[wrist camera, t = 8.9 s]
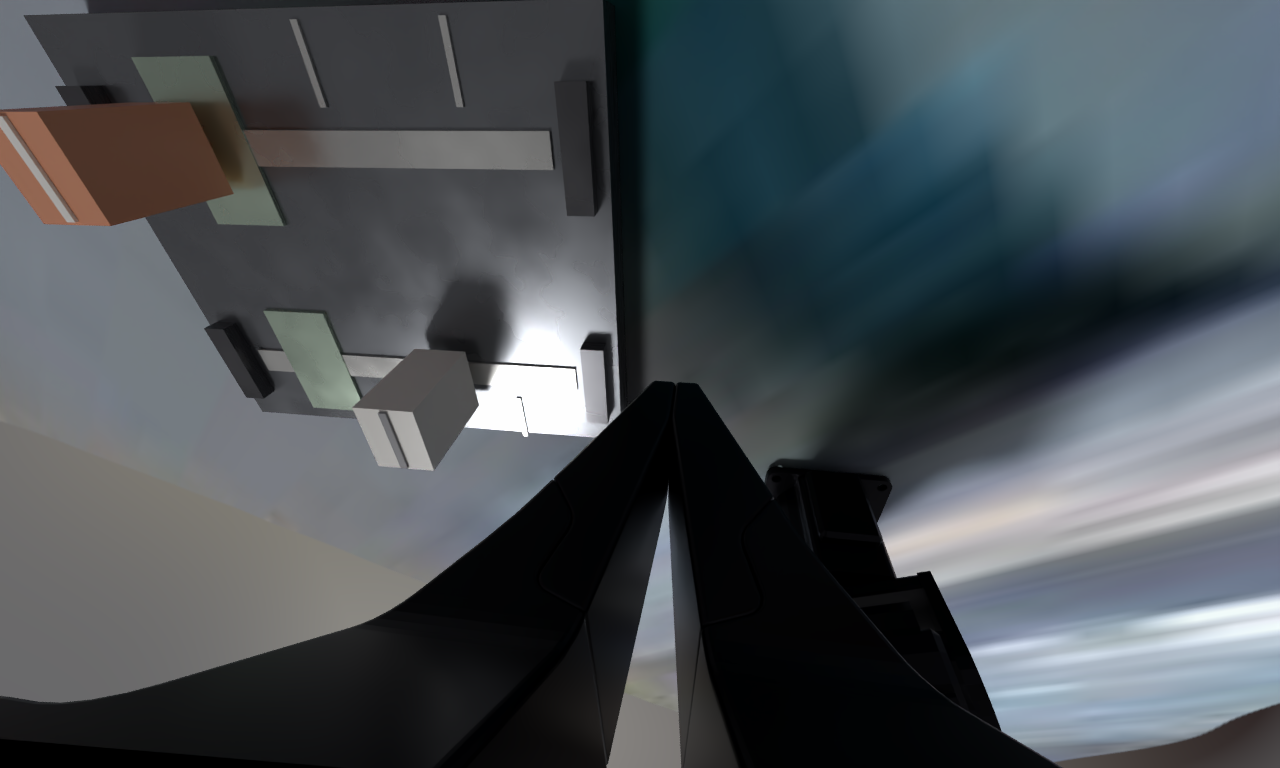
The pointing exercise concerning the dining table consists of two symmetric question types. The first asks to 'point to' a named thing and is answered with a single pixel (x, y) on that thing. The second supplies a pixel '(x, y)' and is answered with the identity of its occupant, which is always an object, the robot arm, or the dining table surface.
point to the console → (391, 193)
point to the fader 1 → (109, 161)
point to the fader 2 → (418, 409)
